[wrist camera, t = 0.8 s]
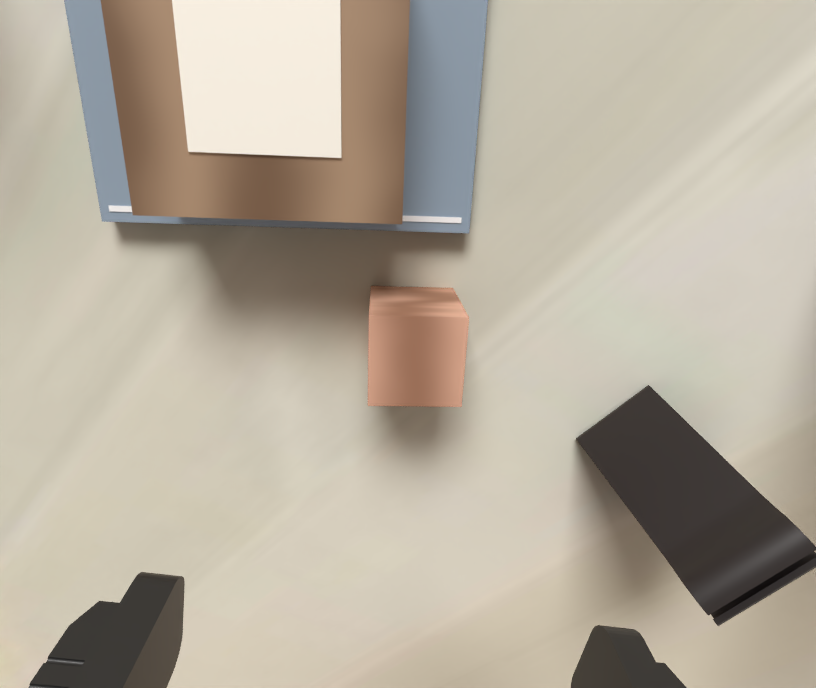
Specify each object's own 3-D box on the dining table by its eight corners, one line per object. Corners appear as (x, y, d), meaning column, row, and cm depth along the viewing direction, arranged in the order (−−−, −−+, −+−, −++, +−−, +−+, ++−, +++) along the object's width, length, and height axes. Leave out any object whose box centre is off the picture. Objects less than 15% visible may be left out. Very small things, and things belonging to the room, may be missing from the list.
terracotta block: (452, 287, 31) (469, 317, 25) (447, 363, 32) (461, 406, 27) (371, 285, 30) (368, 315, 25) (370, 361, 32) (367, 405, 27)
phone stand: (574, 436, 35) (666, 569, 24) (647, 382, 34) (780, 497, 22) (642, 512, 37) (753, 665, 26) (712, 466, 36) (859, 605, 25)
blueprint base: (488, -61, 24) (522, -129, 19) (465, 230, 29) (486, 249, 24) (62, -90, 23) (-45, -173, 17) (113, 218, 28) (42, 235, 22)
